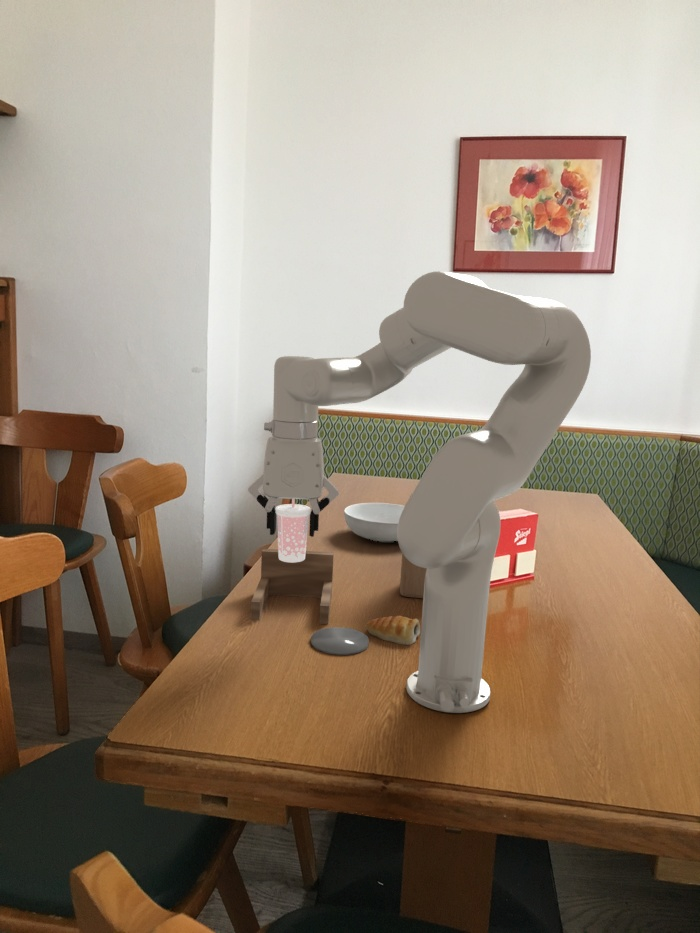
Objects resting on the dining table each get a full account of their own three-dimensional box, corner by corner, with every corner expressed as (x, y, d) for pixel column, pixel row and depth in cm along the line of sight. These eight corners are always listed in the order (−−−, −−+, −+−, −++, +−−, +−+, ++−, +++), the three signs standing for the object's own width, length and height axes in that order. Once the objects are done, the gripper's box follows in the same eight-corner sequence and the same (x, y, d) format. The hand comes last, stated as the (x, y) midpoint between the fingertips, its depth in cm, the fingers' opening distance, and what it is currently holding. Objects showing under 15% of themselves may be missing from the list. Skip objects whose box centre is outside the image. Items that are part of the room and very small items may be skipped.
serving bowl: (427, 552, 183) (429, 524, 182) (341, 547, 183) (342, 520, 182) (421, 528, 204) (422, 504, 202) (343, 524, 204) (345, 500, 202)
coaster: (368, 656, 125) (368, 653, 125) (308, 653, 125) (308, 649, 125) (368, 631, 135) (368, 628, 135) (312, 628, 135) (313, 625, 135)
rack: (328, 624, 137) (330, 577, 135) (250, 619, 137) (251, 573, 136) (331, 595, 152) (333, 552, 150) (261, 591, 152) (262, 548, 150)
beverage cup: (316, 558, 131) (319, 480, 128) (291, 566, 126) (293, 485, 124) (292, 550, 135) (294, 474, 132) (266, 557, 130) (268, 479, 128)
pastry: (361, 638, 132) (362, 618, 132) (372, 624, 139) (373, 605, 138) (413, 648, 130) (414, 627, 129) (422, 633, 136) (423, 613, 135)
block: (448, 603, 150) (455, 506, 146) (398, 597, 152) (404, 501, 148) (451, 586, 160) (458, 495, 156) (405, 581, 162) (411, 490, 158)
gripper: (240, 431, 123) (239, 537, 126) (345, 436, 122) (341, 542, 126) (247, 425, 130) (246, 525, 133) (347, 429, 130) (343, 530, 133)
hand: (292, 532), depth 130 cm, fingers closed on beverage cup, 6 cm apart
